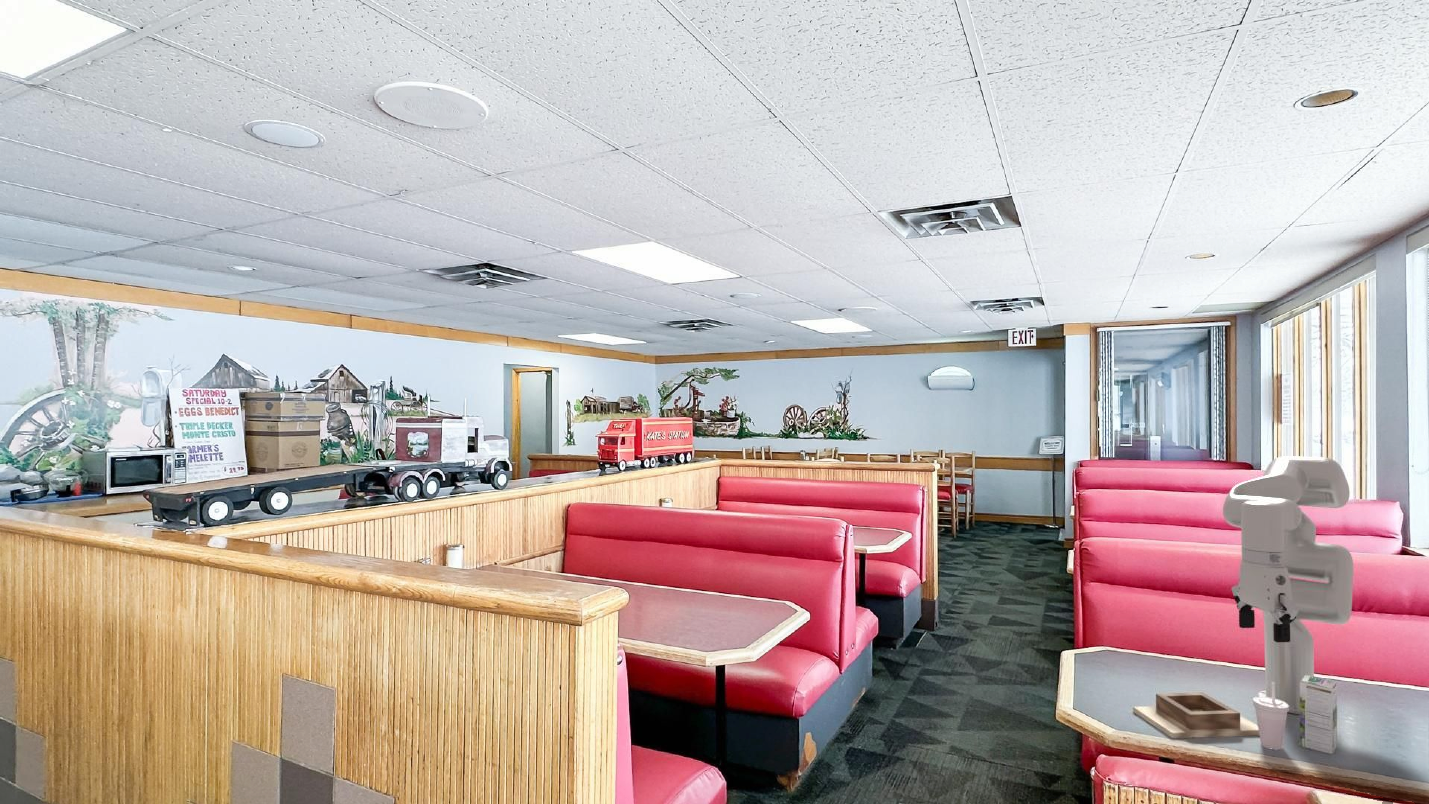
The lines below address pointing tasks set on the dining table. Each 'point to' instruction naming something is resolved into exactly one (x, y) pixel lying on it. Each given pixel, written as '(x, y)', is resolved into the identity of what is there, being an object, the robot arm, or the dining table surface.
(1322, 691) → the syrup box
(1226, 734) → the socket stand
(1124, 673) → the dining table surface
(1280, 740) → the smoothie
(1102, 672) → the dining table surface
